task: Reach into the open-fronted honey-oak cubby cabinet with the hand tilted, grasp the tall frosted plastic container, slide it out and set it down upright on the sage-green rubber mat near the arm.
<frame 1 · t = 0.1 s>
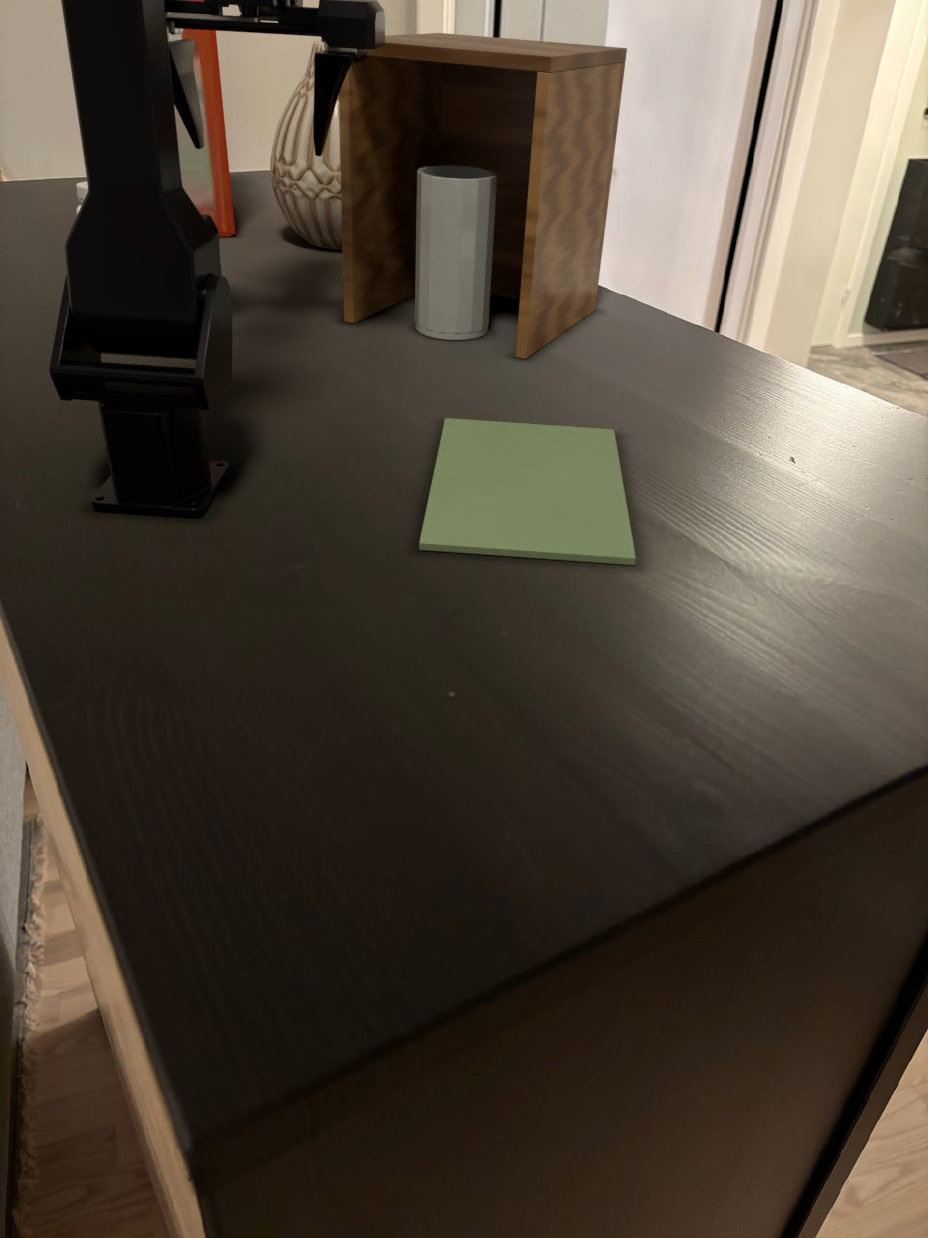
hand: (259, 151, 73), 15 cm above the table, tool pointing down, fingers open, 9 cm apart
vase: (344, 243, 111), on the table
mat: (527, 486, 60), on the table
cubby cabinet: (471, 317, 89), on the table
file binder: (198, 222, 117), on the table
pill bottle: (112, 277, 95), on the table
container: (451, 328, 86), on the table
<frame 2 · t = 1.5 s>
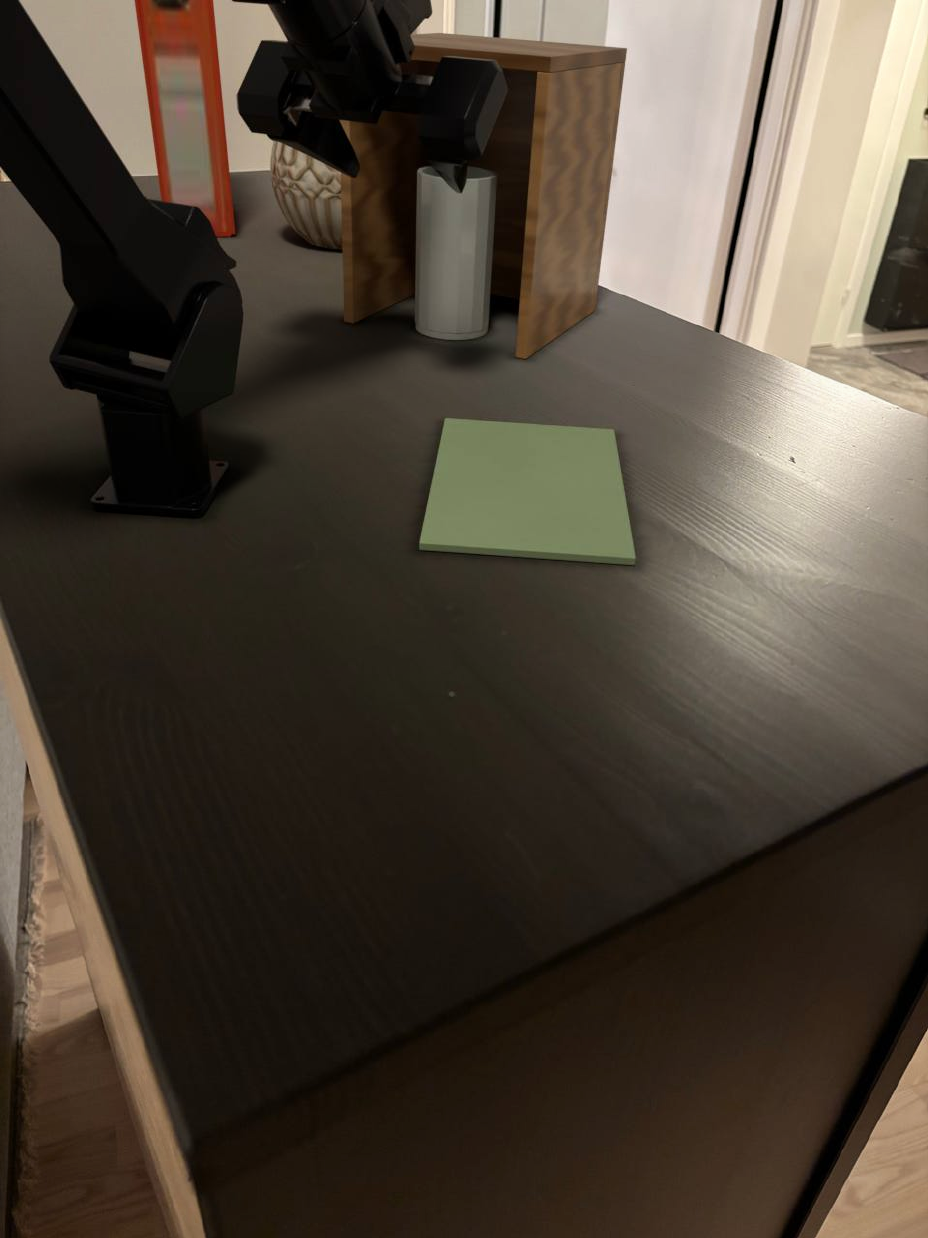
hand: (408, 179, 73), 13 cm above the table, tool tilted 45°, fingers open, 9 cm apart
nothing on the table moved.
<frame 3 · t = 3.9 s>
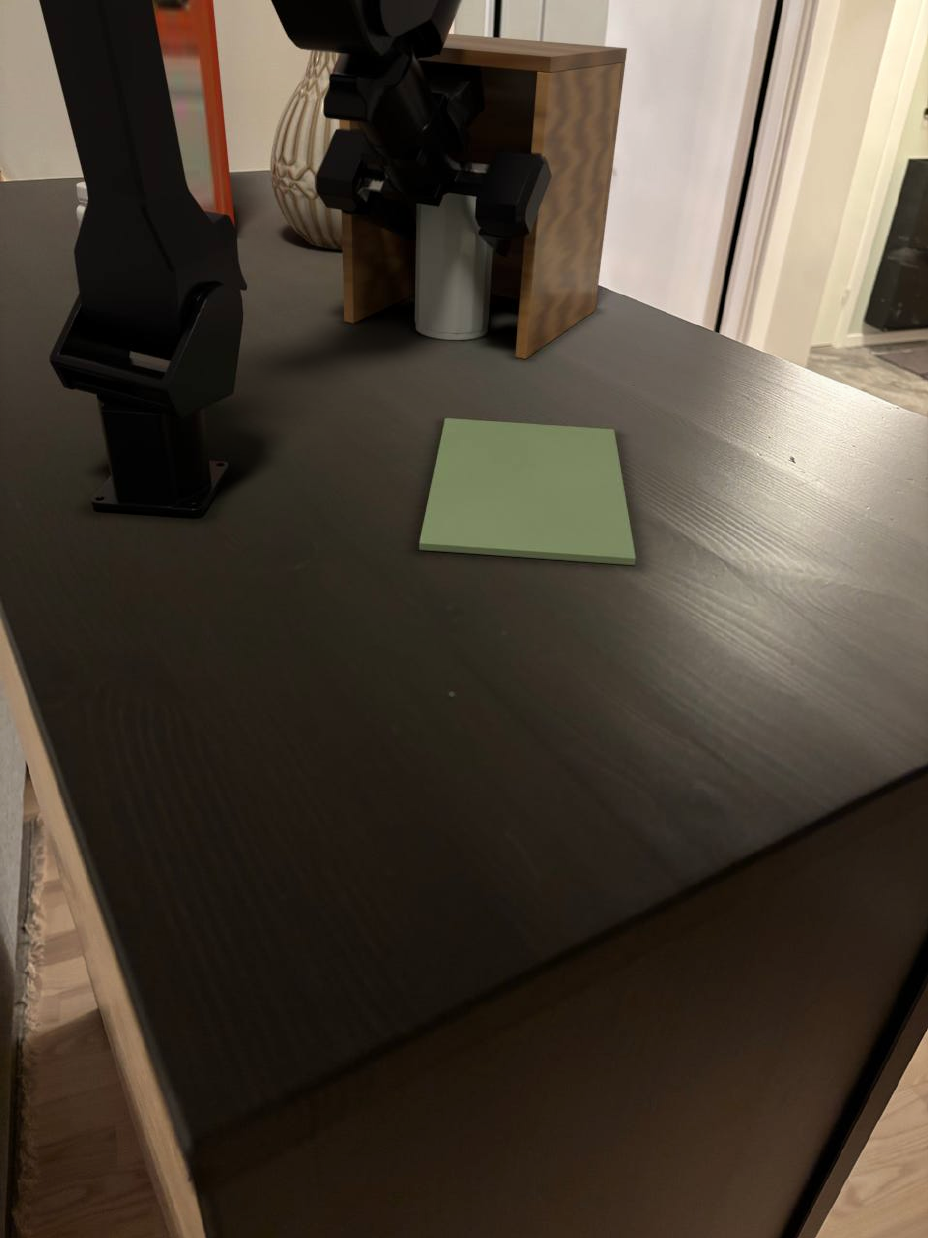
hand: (460, 244, 83), 7 cm above the table, tool tilted 45°
nothing on the table moved.
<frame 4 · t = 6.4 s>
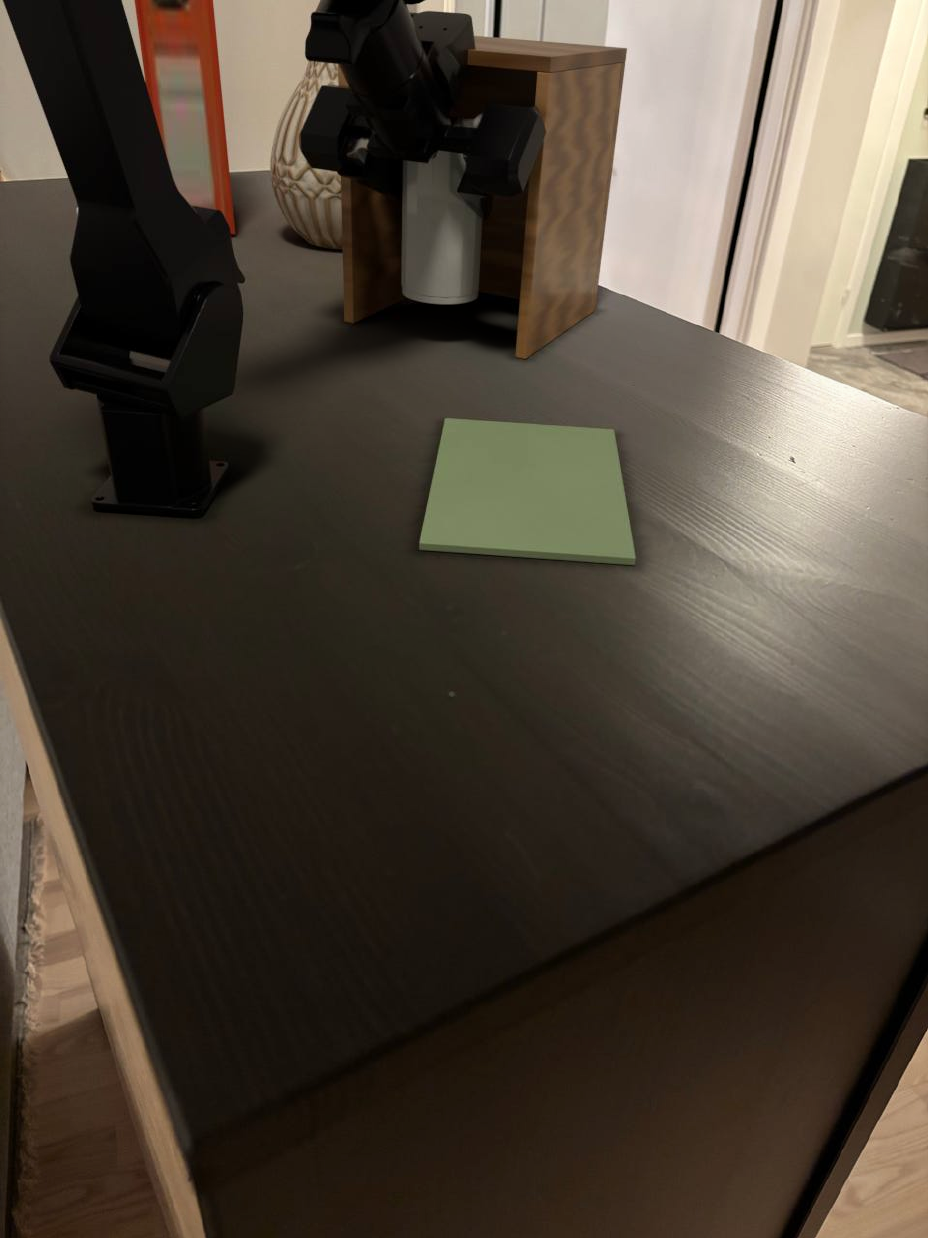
hand: (450, 209, 80), 10 cm above the table, tool tilted 45°, fingers closed on container, 6 cm apart
container: (440, 293, 82), point 4 cm above the table, touching gripper
everything else where it was.
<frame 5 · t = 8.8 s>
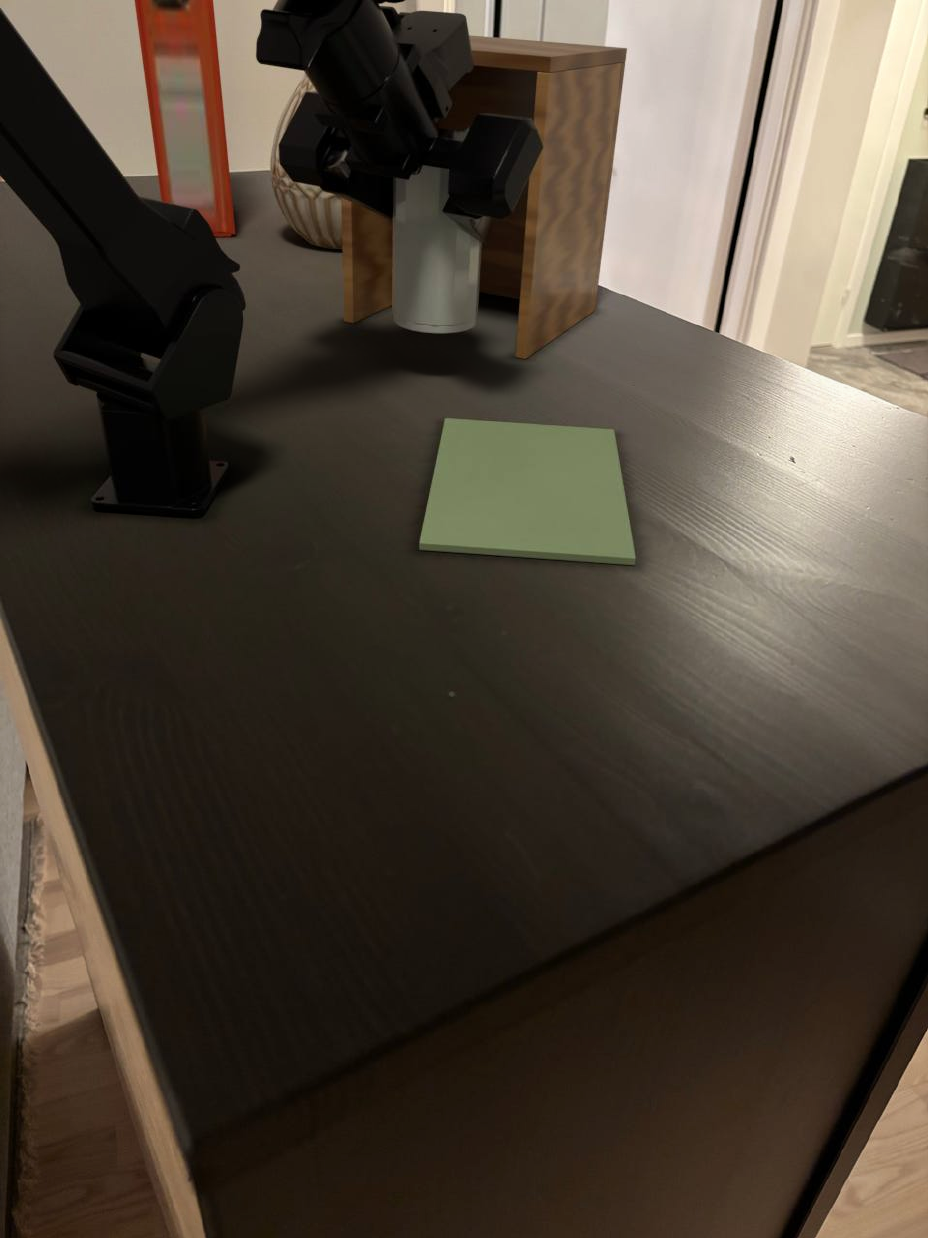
hand: (448, 229, 72), 10 cm above the table, tool tilted 45°, fingers closed on container, 6 cm apart
container: (434, 320, 75), point 4 cm above the table, touching gripper
everything else where it was.
when the fingers open (7 cm above the table, at t = 13.4 s): container stays where it is, resting on mat.
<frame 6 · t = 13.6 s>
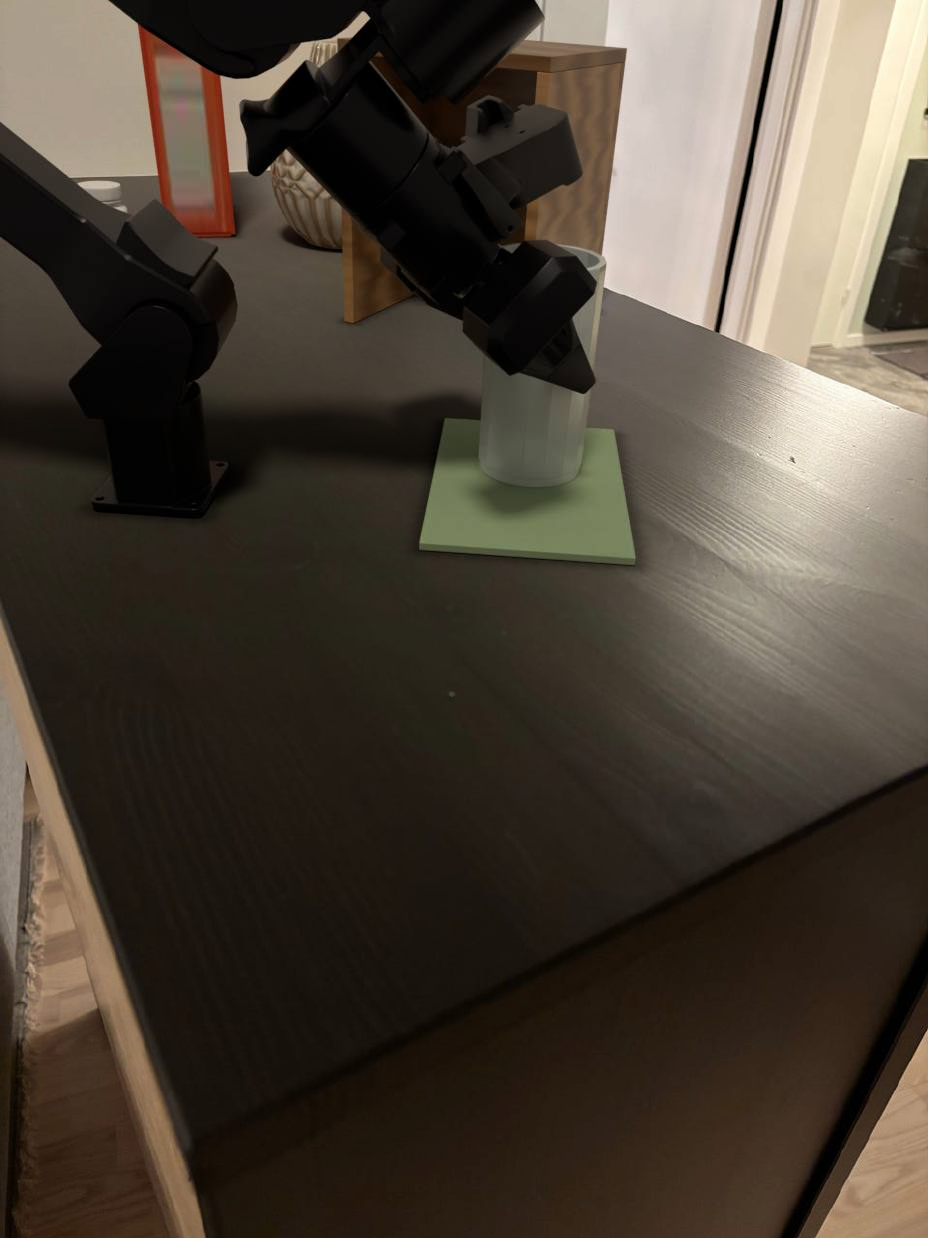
hand: (558, 363, 58), 7 cm above the table, tool tilted 45°, fingers open, 8 cm apart
container: (528, 465, 62), point 1 cm above the table, touching mat
everything else where it was.
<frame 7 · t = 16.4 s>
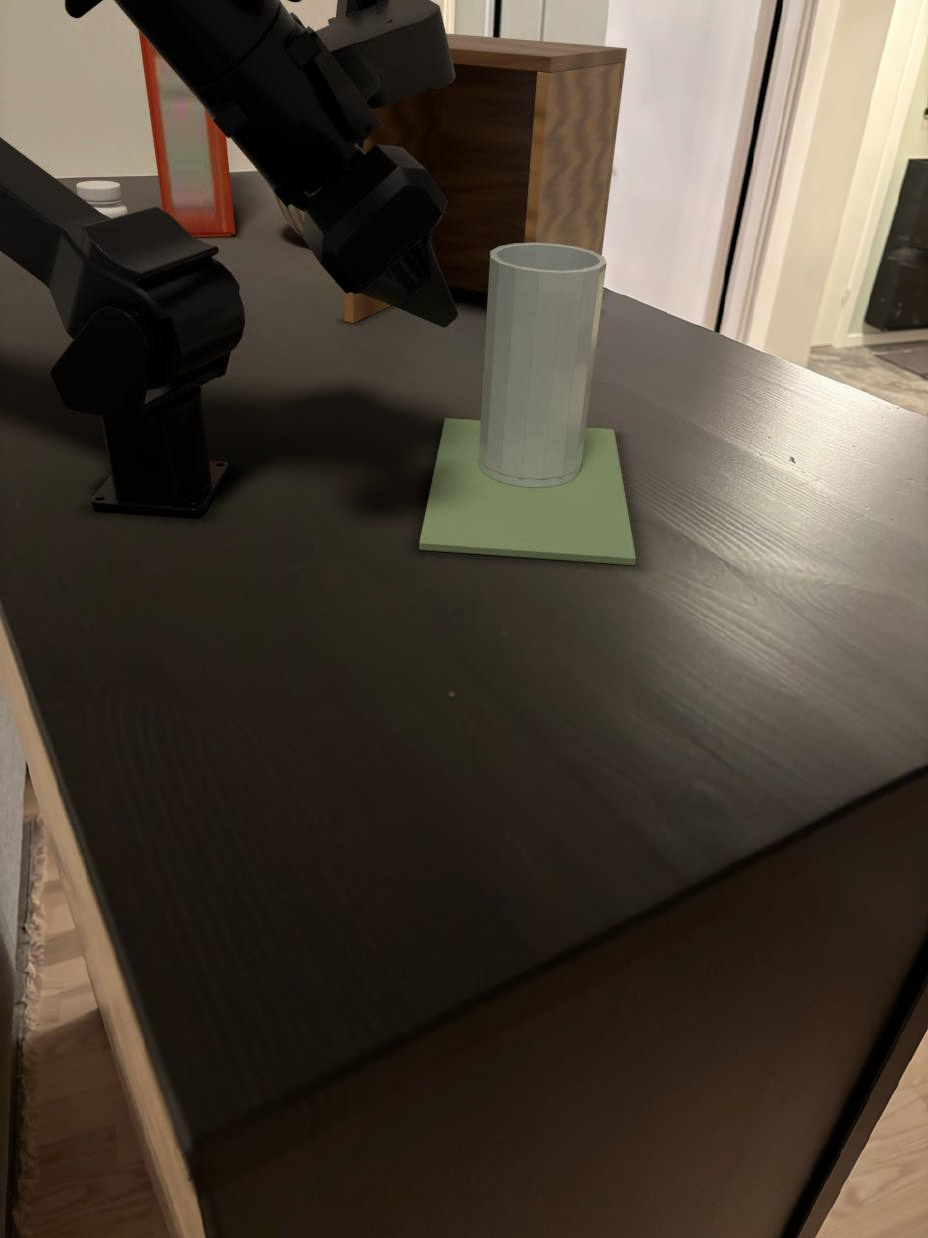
hand: (422, 287, 55), 12 cm above the table, tool tilted 40°, fingers open, 9 cm apart
nothing on the table moved.
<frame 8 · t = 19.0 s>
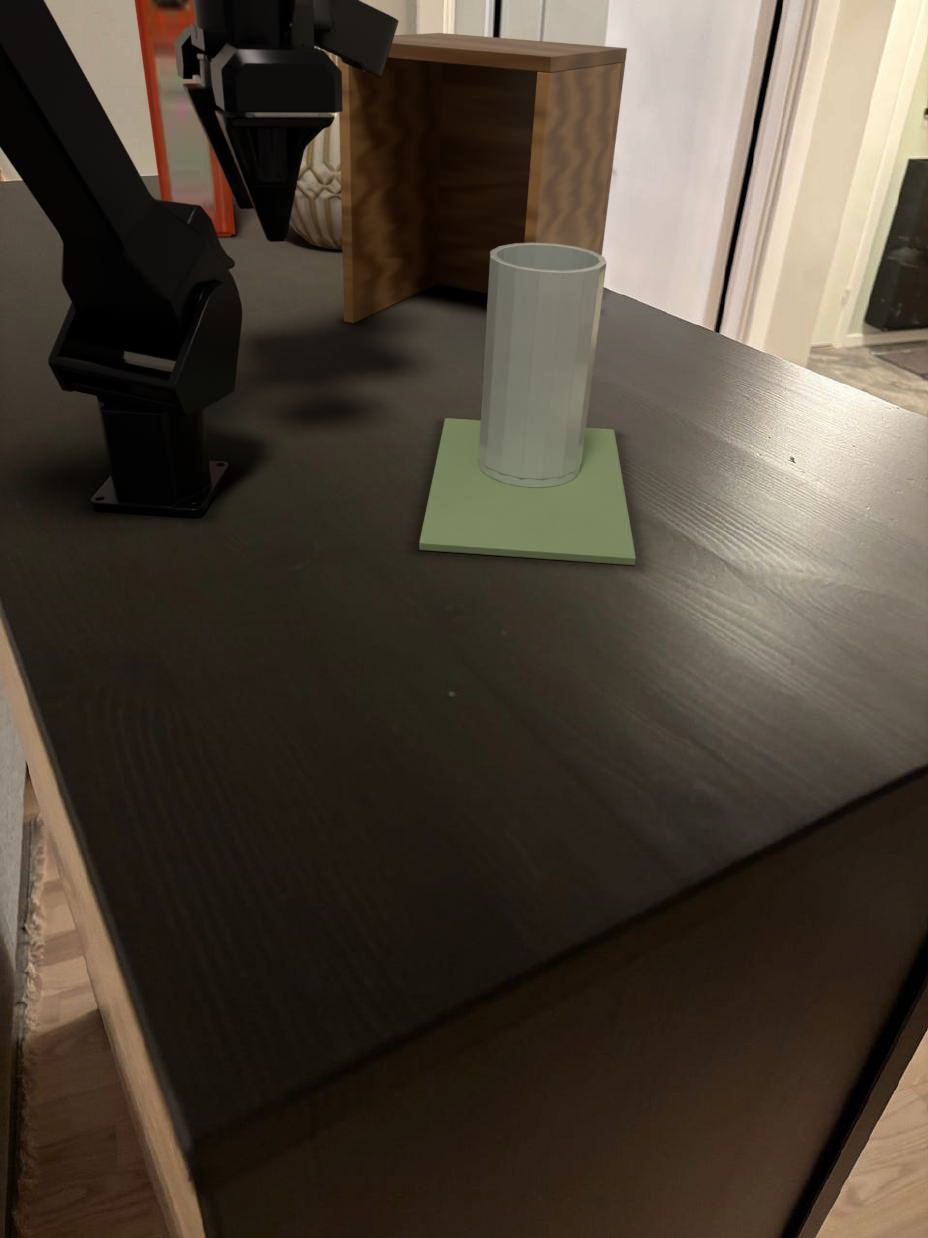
hand: (261, 223, 60), 13 cm above the table, tool pointing down, fingers open, 9 cm apart
nothing on the table moved.
at the end: container inside the target area on the mat (2.0 cm from its centre), point 0.5 cm above the mat's base; container tilted 0°; the gripper is holding nothing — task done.
